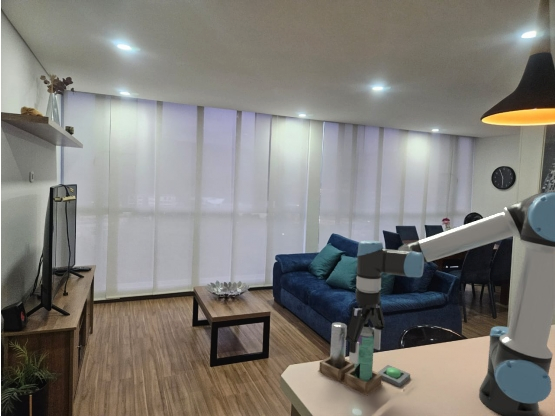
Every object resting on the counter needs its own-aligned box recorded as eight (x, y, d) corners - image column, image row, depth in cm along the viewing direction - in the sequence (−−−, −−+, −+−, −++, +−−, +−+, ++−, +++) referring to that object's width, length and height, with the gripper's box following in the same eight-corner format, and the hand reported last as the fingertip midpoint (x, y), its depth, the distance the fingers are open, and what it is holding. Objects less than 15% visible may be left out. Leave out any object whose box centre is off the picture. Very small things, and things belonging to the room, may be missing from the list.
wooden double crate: (383, 386, 114) (383, 374, 114) (367, 399, 107) (367, 386, 106) (334, 364, 127) (334, 353, 127) (317, 374, 120) (317, 362, 120)
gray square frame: (409, 381, 118) (410, 373, 118) (399, 390, 112) (399, 382, 112) (387, 371, 123) (387, 364, 123) (376, 380, 118) (376, 372, 118)
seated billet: (347, 371, 120) (349, 325, 119) (338, 376, 117) (341, 329, 116) (335, 365, 124) (337, 321, 123) (326, 370, 120) (328, 324, 119)
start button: (402, 379, 118) (402, 371, 118) (396, 384, 115) (396, 375, 114) (390, 374, 121) (390, 366, 121) (383, 379, 118) (384, 370, 118)
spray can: (370, 379, 116) (373, 319, 115) (373, 388, 110) (376, 325, 110) (353, 377, 116) (356, 318, 116) (355, 386, 111) (358, 324, 110)
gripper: (376, 280, 123) (373, 339, 124) (335, 294, 105) (332, 363, 106) (397, 285, 118) (394, 347, 119) (357, 300, 100) (354, 373, 101)
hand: (365, 355), depth 113 cm, fingers open, 13 cm apart
